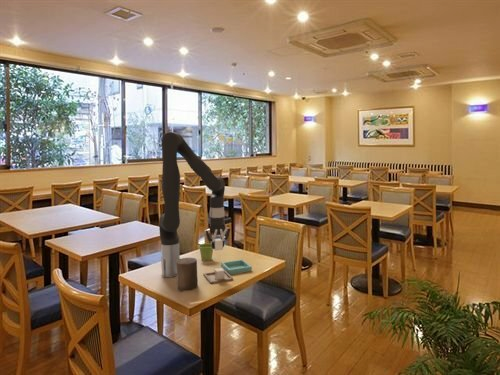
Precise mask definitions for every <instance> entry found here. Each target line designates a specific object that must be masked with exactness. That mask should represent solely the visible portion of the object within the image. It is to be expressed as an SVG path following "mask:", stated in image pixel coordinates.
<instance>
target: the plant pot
mask: <svg viewBox="0 0 500 375" xmlns="http://www.w3.org/2000/svg"><path fill="white" fill-rule="evenodd" d="M198 249H199V250H200V251H199V253H200V258H201V260H202V261H203V262H204V261H205V262H206V261H208V262H209V261H211V260H213V251H214V249H213V248H212V247H211V243H209V242H208V243H201V244H198Z"/></svg>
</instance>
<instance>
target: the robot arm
mask: <svg viewBox="0 0 500 375" xmlns="http://www.w3.org/2000/svg"><path fill="white" fill-rule="evenodd" d="M161 150H162V171H161V172H162V173H161V174H162V175H161V193H162V197H163V201H164V213H162V214H161V216H160V217H159V220H158V225H159V226H158V227H159V238H160V242H161V244H160V245H161V246H160V247H161V256H160V257H161V258H160V260H161V274H162V277H163V278H175V277H177V262H176V261H177V260H179V259H181V256H180V255H181V254H180V238H179V235H178V229H179V227H180V224H181V219H180V218H181V217H180V194H181V192H180V191H181V173H180V168H179V165H178V157H177V156H178V154H179V155H180V156H181V157H182V158H183V159H184V160H185V161H186V163H187V165H188V166H189V168H190V169H191V170H192V171H193V172H194V173H195V174H196V175H197V176H198V177H199V178H200V179H201V180H202V182H203V183H204V185H205V186H206V187H207V188H208V189H209V190H210V191H211V196H210V198H209V224H210V225H209V228H208V229H204V230H203V231H204V233H205V236H206V239H207V241H209V242H211V243H210V244H211V247H212V248H213V250H214V249H215V242H214V241H215V239H217V236H219V238H220V239H222V240H223V248H224V247H225V240H228V239H229V235H230V232H231V228H230V227H228V226H226V225H225V224H226V222H225V220H226V219H225V217H226V216H225V203H224V202H225V201H224V200H225V199H224V196H225V188H226V187H225V186H226V183H225V179H224V178H223V177H221V176H216V175H215V174H214V173H213V172H212V169H211V167H210V166H208V164H207V163H206V162H204V160H203V159H202V158H200V157H199V156H198V155H197V153H195V151H193V149H192V148H191V147H190V146H189V144H188V143H187V142H186V140H185V139H184V137H183V136H182V135H181V134H180V133H178V132H174V131H166V133H164V134H163V135H162V137H161ZM224 232H225V233H224ZM210 233H211V236H210Z"/></svg>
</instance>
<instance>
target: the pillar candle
mask: <svg viewBox="0 0 500 375" xmlns="http://www.w3.org/2000/svg"><path fill="white" fill-rule="evenodd" d="M176 262H177V275H176V278H177V279H176V281H177V282H176V283H177V290H178V291H180V292H186V291H187V292H188V291H192V290H196V289H197V288H198V287H199V285H198V260H197V258H195V257H182V258H180V259H179V260H177V261H176Z"/></svg>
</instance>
